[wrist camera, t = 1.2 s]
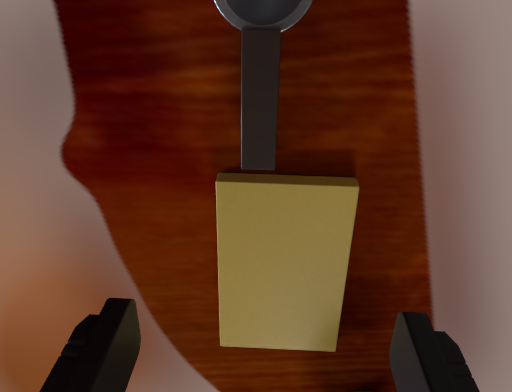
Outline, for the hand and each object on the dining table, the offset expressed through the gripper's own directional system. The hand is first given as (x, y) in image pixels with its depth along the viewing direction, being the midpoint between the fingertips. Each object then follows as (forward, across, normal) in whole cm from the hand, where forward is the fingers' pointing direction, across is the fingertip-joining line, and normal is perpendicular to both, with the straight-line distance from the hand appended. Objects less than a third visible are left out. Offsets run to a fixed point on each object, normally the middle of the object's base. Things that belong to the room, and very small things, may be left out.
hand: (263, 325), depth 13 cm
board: (+19, -1, +12) cm, 22 cm away
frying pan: (+19, +1, -5) cm, 19 cm away
